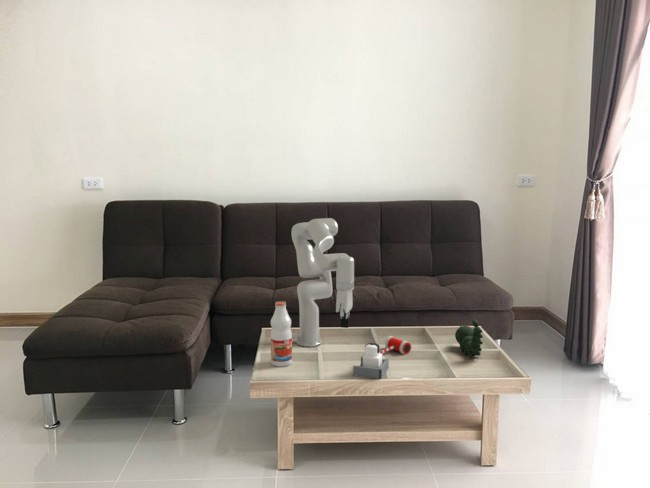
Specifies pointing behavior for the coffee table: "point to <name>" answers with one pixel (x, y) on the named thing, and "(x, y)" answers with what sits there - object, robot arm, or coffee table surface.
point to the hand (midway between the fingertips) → (345, 326)
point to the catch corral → (371, 370)
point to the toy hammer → (396, 345)
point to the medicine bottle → (372, 356)
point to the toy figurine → (469, 338)
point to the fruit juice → (281, 336)
